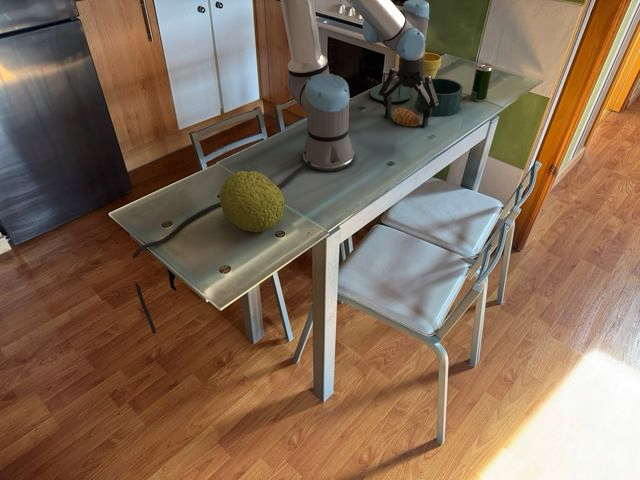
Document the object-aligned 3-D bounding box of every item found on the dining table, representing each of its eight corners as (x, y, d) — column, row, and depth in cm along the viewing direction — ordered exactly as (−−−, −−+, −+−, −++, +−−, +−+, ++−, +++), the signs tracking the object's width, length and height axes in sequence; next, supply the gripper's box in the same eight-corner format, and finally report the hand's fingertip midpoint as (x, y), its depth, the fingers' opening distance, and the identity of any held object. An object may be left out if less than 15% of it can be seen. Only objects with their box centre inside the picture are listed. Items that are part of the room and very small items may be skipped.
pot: (455, 118, 157) (459, 97, 152) (413, 113, 161) (415, 92, 156) (461, 101, 168) (464, 80, 163) (421, 96, 172) (423, 76, 167)
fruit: (298, 212, 119) (295, 184, 105) (262, 254, 115) (254, 231, 101) (250, 177, 123) (241, 146, 109) (213, 217, 119) (199, 190, 105)
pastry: (423, 123, 155) (425, 112, 153) (411, 130, 152) (412, 119, 149) (401, 114, 160) (402, 104, 158) (388, 121, 157) (389, 110, 154)
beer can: (479, 103, 166) (486, 69, 158) (467, 98, 169) (473, 65, 162) (489, 99, 168) (496, 65, 161) (477, 94, 172) (483, 61, 164)
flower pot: (422, 75, 187) (425, 50, 181) (443, 82, 181) (447, 56, 175) (405, 82, 182) (407, 56, 176) (425, 89, 176) (428, 63, 170)
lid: (407, 106, 165) (409, 82, 160) (365, 101, 169) (366, 77, 164) (415, 90, 176) (418, 66, 171) (375, 85, 180) (377, 62, 175)
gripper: (455, 59, 140) (445, 125, 153) (381, 46, 151) (378, 108, 165) (445, 67, 135) (436, 134, 149) (370, 53, 146) (367, 116, 160)
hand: (405, 121), depth 157 cm, fingers open, 13 cm apart
